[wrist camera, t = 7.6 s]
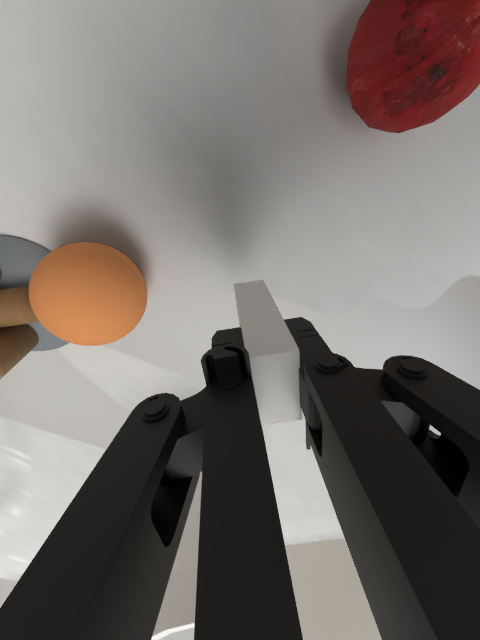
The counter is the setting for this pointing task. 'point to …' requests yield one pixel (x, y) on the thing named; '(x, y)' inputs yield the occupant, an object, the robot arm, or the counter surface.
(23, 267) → the pin spot
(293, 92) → the counter surface
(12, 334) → the pin
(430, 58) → the onion
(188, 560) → the foam cup
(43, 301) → the ball
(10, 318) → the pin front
